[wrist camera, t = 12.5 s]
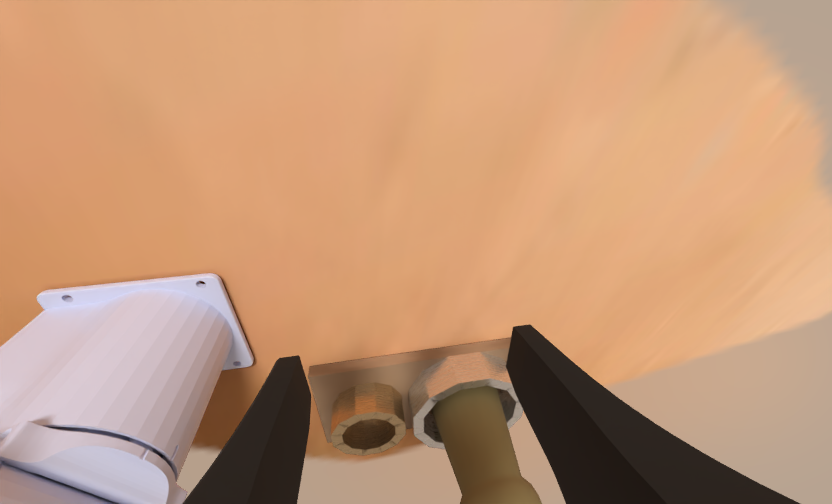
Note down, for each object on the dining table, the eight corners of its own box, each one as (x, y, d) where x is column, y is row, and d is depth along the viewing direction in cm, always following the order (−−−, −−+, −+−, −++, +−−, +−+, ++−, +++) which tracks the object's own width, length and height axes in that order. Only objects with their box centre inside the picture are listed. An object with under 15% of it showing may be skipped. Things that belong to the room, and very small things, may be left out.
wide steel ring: (410, 428, 30) (414, 457, 28) (407, 362, 25) (412, 390, 23) (504, 412, 31) (515, 438, 29) (519, 345, 26) (533, 371, 24)
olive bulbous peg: (495, 397, 30) (560, 555, 20) (431, 415, 29) (467, 582, 20) (492, 354, 26) (567, 518, 17) (419, 373, 26) (456, 550, 17)
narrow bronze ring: (338, 429, 28) (337, 460, 26) (328, 389, 25) (326, 419, 23) (402, 418, 29) (406, 447, 27) (400, 378, 26) (404, 407, 24)
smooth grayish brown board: (328, 431, 30) (327, 442, 29) (309, 366, 25) (308, 377, 24) (505, 401, 32) (509, 411, 31) (518, 336, 27) (524, 345, 26)
